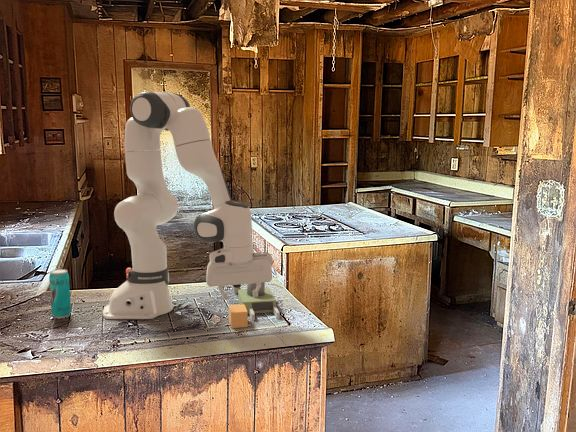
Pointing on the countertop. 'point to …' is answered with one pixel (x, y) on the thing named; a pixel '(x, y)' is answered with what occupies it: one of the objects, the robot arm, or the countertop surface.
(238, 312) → the tall orange cuboid
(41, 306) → the countertop surface
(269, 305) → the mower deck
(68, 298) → the beverage can
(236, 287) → the light bulb
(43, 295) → the countertop surface
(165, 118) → the robot arm
